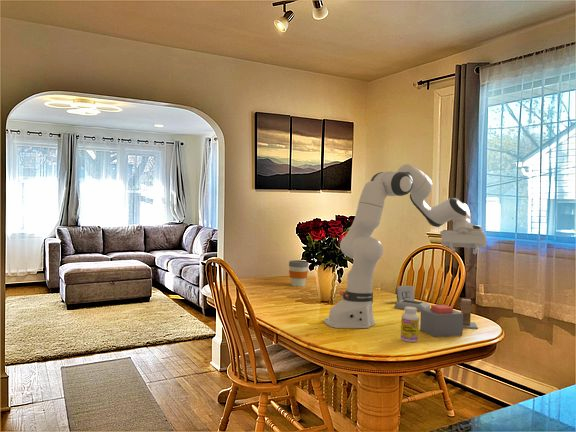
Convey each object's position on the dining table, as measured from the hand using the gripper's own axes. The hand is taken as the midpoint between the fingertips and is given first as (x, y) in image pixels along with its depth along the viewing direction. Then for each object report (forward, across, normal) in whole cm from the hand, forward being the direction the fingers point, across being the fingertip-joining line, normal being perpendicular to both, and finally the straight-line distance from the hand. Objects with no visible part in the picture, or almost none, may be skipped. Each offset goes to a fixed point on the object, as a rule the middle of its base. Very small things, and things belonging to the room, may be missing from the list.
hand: (464, 252), depth 220 cm
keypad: (+12, -22, +33) cm, 42 cm away
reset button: (+38, -11, -2) cm, 39 cm away
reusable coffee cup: (-19, -92, +63) cm, 114 cm away
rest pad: (+31, 0, +14) cm, 34 cm away
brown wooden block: (+30, 0, +13) cm, 33 cm away
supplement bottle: (+53, -24, -8) cm, 59 cm away
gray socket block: (+42, -11, +2) cm, 43 cm away
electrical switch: (+2, -26, +42) cm, 50 cm away
